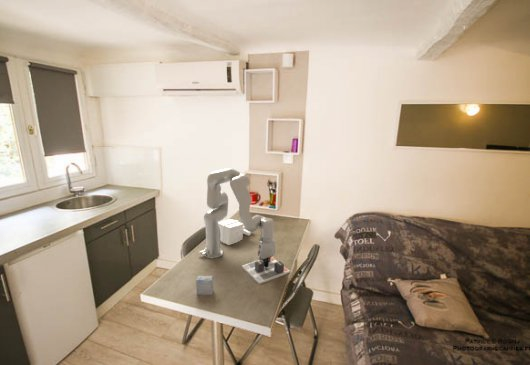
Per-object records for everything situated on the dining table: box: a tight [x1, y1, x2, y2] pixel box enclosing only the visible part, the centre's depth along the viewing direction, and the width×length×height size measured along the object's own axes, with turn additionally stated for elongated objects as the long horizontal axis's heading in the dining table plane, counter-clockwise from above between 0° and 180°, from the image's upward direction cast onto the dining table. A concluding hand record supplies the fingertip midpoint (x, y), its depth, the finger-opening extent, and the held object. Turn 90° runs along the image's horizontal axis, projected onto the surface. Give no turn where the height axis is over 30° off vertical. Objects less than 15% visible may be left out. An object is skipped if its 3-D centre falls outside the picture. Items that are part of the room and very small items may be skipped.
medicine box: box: [195, 275, 214, 296], centre depth 131 cm, size 8×4×9 cm, turn 92°
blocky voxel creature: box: [218, 218, 252, 246], centre depth 194 cm, size 15×25×28 cm
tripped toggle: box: [255, 260, 264, 273], centre depth 150 cm, size 4×4×5 cm
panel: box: [241, 256, 291, 285], centre depth 153 cm, size 22×20×6 cm
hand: (265, 266), depth 153 cm, fingers closed
